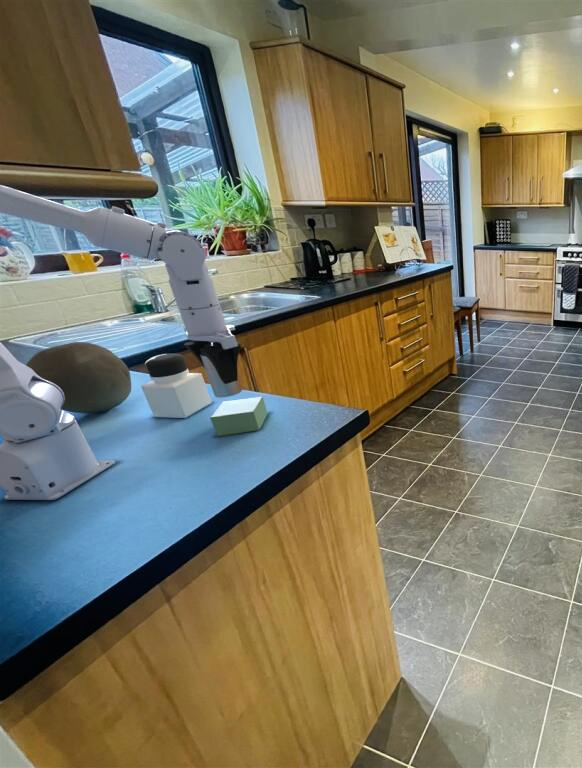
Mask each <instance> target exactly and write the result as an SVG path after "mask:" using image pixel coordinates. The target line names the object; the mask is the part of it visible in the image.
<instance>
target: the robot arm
mask: <svg viewBox="0 0 582 768" xmlns="http://www.w3.org/2000/svg"><path fill="white" fill-rule="evenodd" d="M0 214H4V215H8V216H11V217H16V218H20V219H24V220H28V221H33V222H36V223H39V224H44V225H48V226H51V227H56V228H60V229H64V230H68V231H72V232H77V233H80V234H82V235H83V236H84V237H85V238H86V239H87V240H88V241H89V242H90V244H92V245H93V247H97V248H100V249H105V250H108V251H113V252H116V253H120V254H124V255H128V256H132V257H136V258H139V259H143V260H148V261H153V260H161V261H162V262H163V263H164V267H165V269H166V272H167V274H168V284H169V287H170V289H171V292H172V296H173V298H174V300H175V301H174V302H175V303H176V306H177V308H178V313H179V314H180V317H181V320H182V323H183V325H184V326H183V330H184V333H185V336H186V338H187V340H189V341H188V342H185V343H184V344H183V346H184V347H185V348H186V349H187V350H189V352H191V354H192V355H193V356H194V357H195V358H196V359H197V361H198V362H199V363H200V365H201V367H203V369H204V370H205V368H204V365H203V362H202V359H201V356H200V354H201V353H203V354H204V355H205V356H206V357H207V358H208V359H209V360H210V361H211V363H212V364H213V366H214V367H215V369H216V371H217V373H218V375H219V377H220V379H221V380H222V382H223V383H224V384H228V383H231V382H234V381H237V380H238V377H239V373H238V359H239V354H240V351H241V349H242V343H241V342H239V341H237V339H236V338H237V337H236V336H235V335H234V334H232V331H236V328H235V327H236V326H235V325H232V324H227V323H226V319H225V316H224V313H223V310H222V307H221V304H220V300H219V298H218V294H217V291H216V288H215V286H214V285H215V284H214V283H213V278H212V276H211V275H210V274H209V268H208V266H207V265H206V262H205V261H206V259H207V251H206V248H204V246H203V244H202V243H201V242H200V240H199V239H198V238H196V237H195V236H193V235H192V234H191V233H187V232H185V231H182V230H180V229H177V228H169V229H168V228H167V227H168V224H167V223H165V222H162V221H158V222H157V223H156V222H152V221H149V220H146V219H142V218H139V217H137V216H133V215H130V214H126V213H125V209H123V208H120V207H117V206H113V205H112V206H111V208H107V207H103V206H98V207H95V208H92V209H89V210H86V211H84V210H81V209H79V208H75V207H71V206H68V205H66V204H62V203H59V202H56V201H52V200H50V199H46V198H43V197H40V196H36V195H34V194H30V193H27V192H24V191H21V190H18V189H16V188H15V189H14V188H12V187H9V186H5V185H2V184H0ZM208 343H212V344H213V346H209V347H205V345H206V344H208ZM64 400H65V396H64V393H63V391H62V390H61V389H60V387H58V386H57V385H56V384H54V383H52V382H50V381H47V380H45V379H43V378H41V377H39V376H38V375H37V374H36V373H35V372H34V371H33V370H32V369H31V368H29V367H28V366H26V364H24V363H22V362H20V361H19V360H17V358H16V357H15V356H14V355H13V354H12V353H11V352H10V351H9V350H8V349H7V347H6V346H5V345H4V344H3V343H2V342H1V341H0V435H1V436H2V437H3V441H2V443H1V444H0V486H1V488H2V489H3V491H4V492H5V493H6V495H4V497H3V498H4V499H5V500H9V501H10V500H16V501H17V500H19V501H20V500H21V501H22V500H23V501H24V500H25V501H55V500H58V499H59V498H61V497H63V496H65V495H66V494H68V493H69V492H71V491H72V490H74V489H76V488H78V487H79V486H80V485H82V484H84V483H85V482H87V481H89V480H90V479H93V477H95V476H97V475H98V474H100V473H102V472H103V471H105V470H107V469H108V468H110V467H111V466H113V465H114V464H116V461H115V460H113V459H97V458H96V456H95V454H94V452H93V450H92V448H91V446H90V444H89V443H88V440H87V439H86V437H85V435H84V433H83V431H82V429H81V427H80V425H79V423H78V421H77V420H76V418H75V416H74V415H73V414H70V413H68V412H67V411H64V410H62V409H61V407H62V405H63V404H64Z"/></svg>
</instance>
